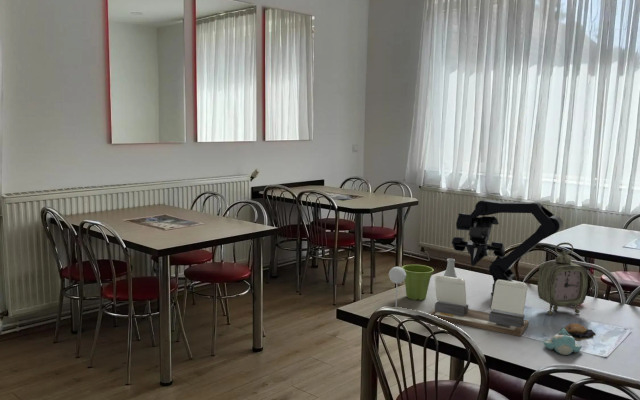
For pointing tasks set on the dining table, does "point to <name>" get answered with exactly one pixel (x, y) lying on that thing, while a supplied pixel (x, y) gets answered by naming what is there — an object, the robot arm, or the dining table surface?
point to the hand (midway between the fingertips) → (472, 265)
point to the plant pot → (417, 281)
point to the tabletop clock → (562, 282)
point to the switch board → (481, 318)
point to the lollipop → (397, 277)
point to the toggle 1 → (450, 290)
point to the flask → (450, 269)
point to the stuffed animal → (562, 343)
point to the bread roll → (579, 331)
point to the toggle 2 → (509, 297)
